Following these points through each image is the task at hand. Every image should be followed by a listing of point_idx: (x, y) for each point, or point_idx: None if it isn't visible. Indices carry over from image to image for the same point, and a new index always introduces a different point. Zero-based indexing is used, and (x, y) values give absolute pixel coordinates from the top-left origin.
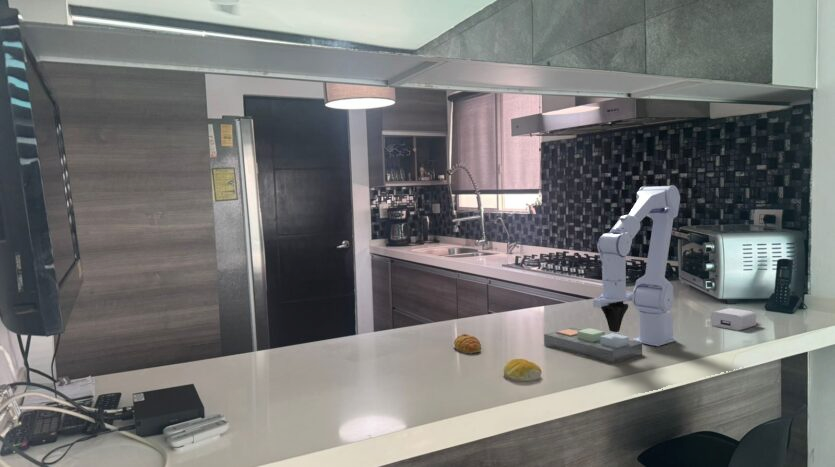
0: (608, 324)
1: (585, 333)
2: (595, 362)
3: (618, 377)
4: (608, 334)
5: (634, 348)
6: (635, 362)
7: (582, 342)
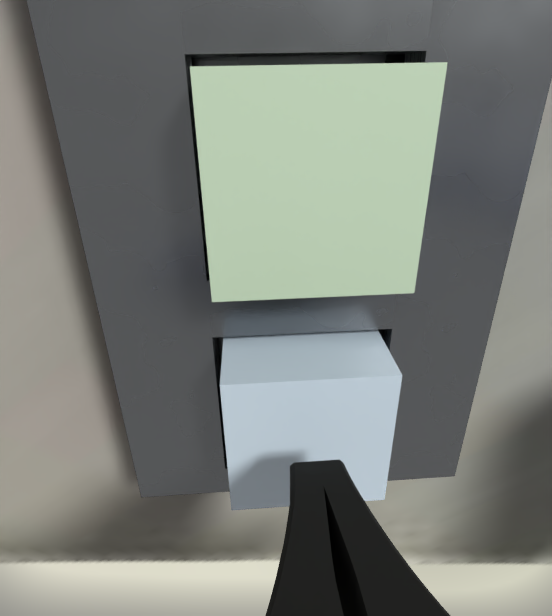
0: (288, 518)
1: (203, 204)
2: (77, 379)
3: (18, 556)
4: (334, 383)
5: None
6: None
7: (118, 228)
